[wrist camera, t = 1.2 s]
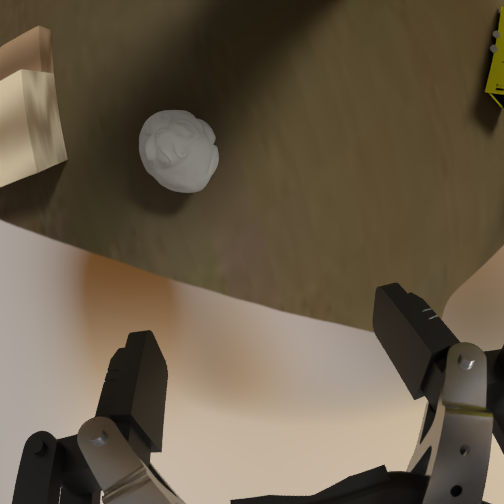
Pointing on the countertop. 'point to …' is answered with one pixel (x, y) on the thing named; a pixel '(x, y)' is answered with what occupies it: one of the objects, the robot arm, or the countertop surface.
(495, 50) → the yellow toy chassis
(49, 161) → the plinth
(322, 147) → the countertop surface
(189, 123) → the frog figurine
